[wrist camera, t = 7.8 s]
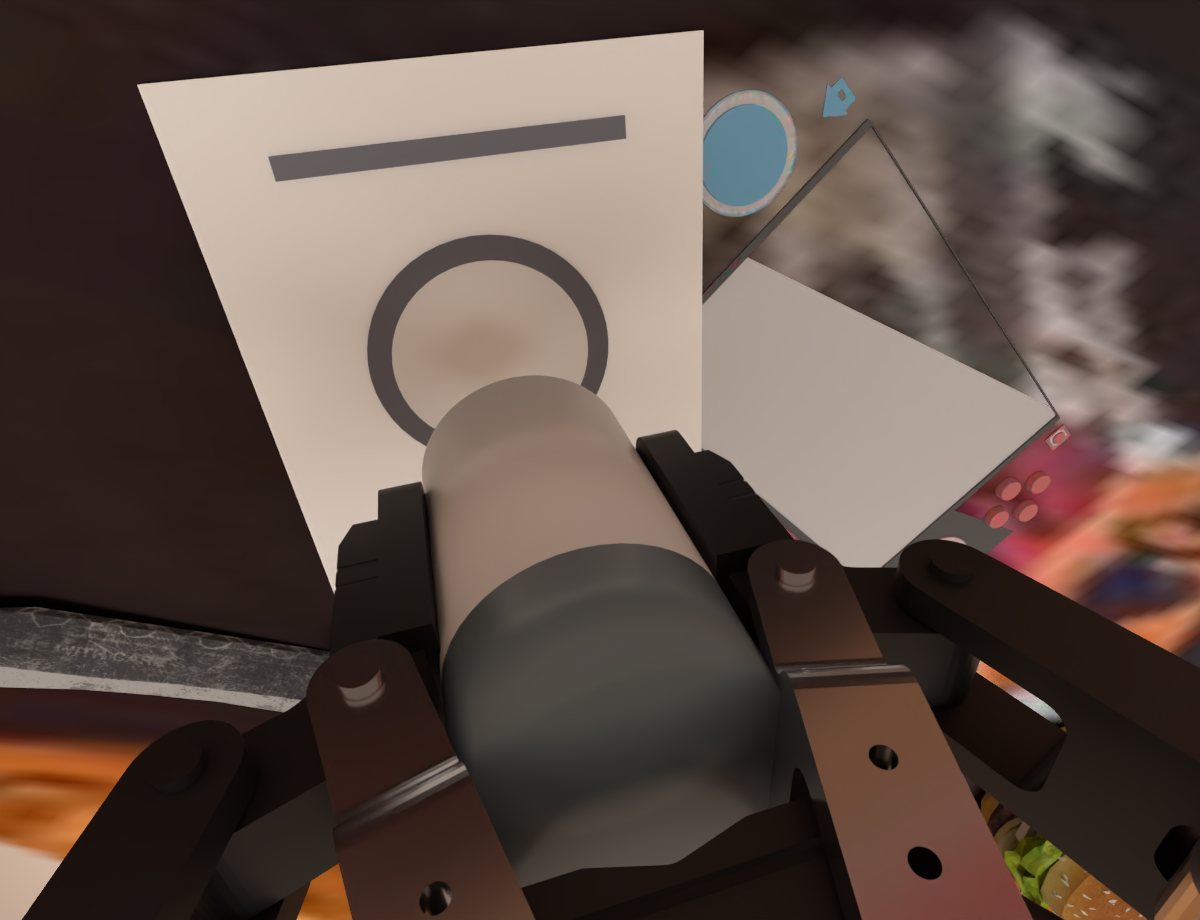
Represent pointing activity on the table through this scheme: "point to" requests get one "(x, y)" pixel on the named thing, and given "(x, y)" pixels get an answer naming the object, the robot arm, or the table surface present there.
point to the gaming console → (843, 380)
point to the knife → (149, 660)
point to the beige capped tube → (585, 640)
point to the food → (1050, 871)
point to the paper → (447, 243)
